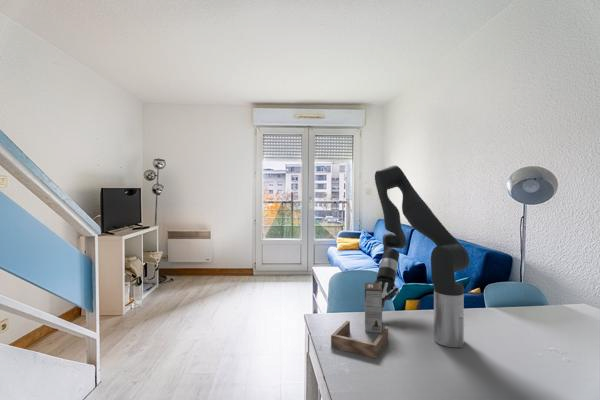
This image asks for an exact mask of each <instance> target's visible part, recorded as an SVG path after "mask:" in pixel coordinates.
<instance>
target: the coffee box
mask: <svg viewBox="0 0 600 400" xmlns="http://www.w3.org/2000/svg"><path fill="white" fill-rule="evenodd" d="M382 331H383V308H382V284H381V283H375V282H364V332H366V333H380V334H381V332H382Z"/></svg>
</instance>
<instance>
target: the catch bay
mask: <svg viewBox="0 0 600 400" xmlns="http://www.w3.org/2000/svg"><path fill="white" fill-rule="evenodd" d="M350 323H351V321H350V320H346V321H344V322H343V323H342V325H340V326H339V328H337V329H336V330H335V331H334V332H333V333H332V334H331V335H330V347H331V348H333V349H337V350H342V351H345V352H349V353H353V354H356V355H361V356H365V357H368V358H371V359H377V357H378V356H379V354H380V353H381V351H382V350H383V348H384V347H385V346H386V344H387V343H388V340H389V334H388V333H389V329H388V328H386V327H385V328H382V332H381V333H380V334H379V335H378V337H376V339H375V340H374V342H369V341H365V340H361V339H356V338H352V337H347V336H348V335H349V334H350V332H351V324H350Z"/></svg>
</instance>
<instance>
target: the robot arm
mask: <svg viewBox="0 0 600 400" xmlns="http://www.w3.org/2000/svg"><path fill="white" fill-rule="evenodd" d="M374 183H375V186H376V190H377V194H378V198H379V201H380V206H381V209H382V213H383V222H384V223H383V224H384V228H385V230H386V231H387V232H386V233H383V236H382V247H383V248H382V249H383V250H382V251H383V253H382V258H381V260H380V263H379V267H378V271H377V276H376V280H375V281H374V283H381V284H382V309H383V308H384V307H385V303H386V301H391V300H392V299H393V298H394V297H395V296H397V295H398V294H399V293H400V289H399V287H397V286H396V284H395V283H396V282H395V281H396V278H397V273H398V265H399V259H400V252H399V251H398V250H397V249H399V250H401V249H404V248H405V247H406V245H407V237H406V235H405V232H404V230H403V228H402V223H401V214H400V210H399V209H398V207H397V206H396V204H394V203H393V201H392V200H391V199H390V197H389V195H388V190H391V189H394V188H398V189H399V190H400V191H401V193H402V203H401V212H402V215H403V216H404V218H405V219H406V220H407V222H408V223H409V225H411V227H412V228H413V229H415V230H416V231H417V232H419V233H420V234H422V235H423V236H425V237H426V238H428V239H429V240H431V242H433V243H434V244H435V247H434V248H433V249H432V251H431V252H430V253H431V255H430V272H431V273H430V274H431V281H432V285H433V340H434V342H436V343H437V344H439V345H441V346H444V347H448V348H464V342H465V313H464V310H465V307H464V305H465V304H464V298H465V294H464V292H465V288H464V284H463V283H461V282H459V281H456V279H455V272H461V271H464V270H465V269H467V268H468V267H469V265H470V263H471V262H470V257H469V256H470V255H469V253H468V251H467V249H465V247H464V246H463V244H461V243H460V242H459V241H458V240H457V239H456V237H454V236H453V235H452V234H451V233H450V232H449V230H448V229H447V228H446V227H445V226H444V224H442V222H441V221H440V219H438V216H436V215H435V213H434V212H433V211H432V210H431V208H430V207H429V206H428V204H427V203H426V201H424V199H423V198H422V197H421V196H420V195H419V194H418V193H417V191H416V190H415V188H414V187H413V185H412V183H411V182H410V181H409V179H408V178H407V176H406V175H405V172H404V171H403V170H402V169H401V168H400V166H398V165H390V166H386V167H383V168H380V169H378V170H376V171H375V174H374Z"/></svg>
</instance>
